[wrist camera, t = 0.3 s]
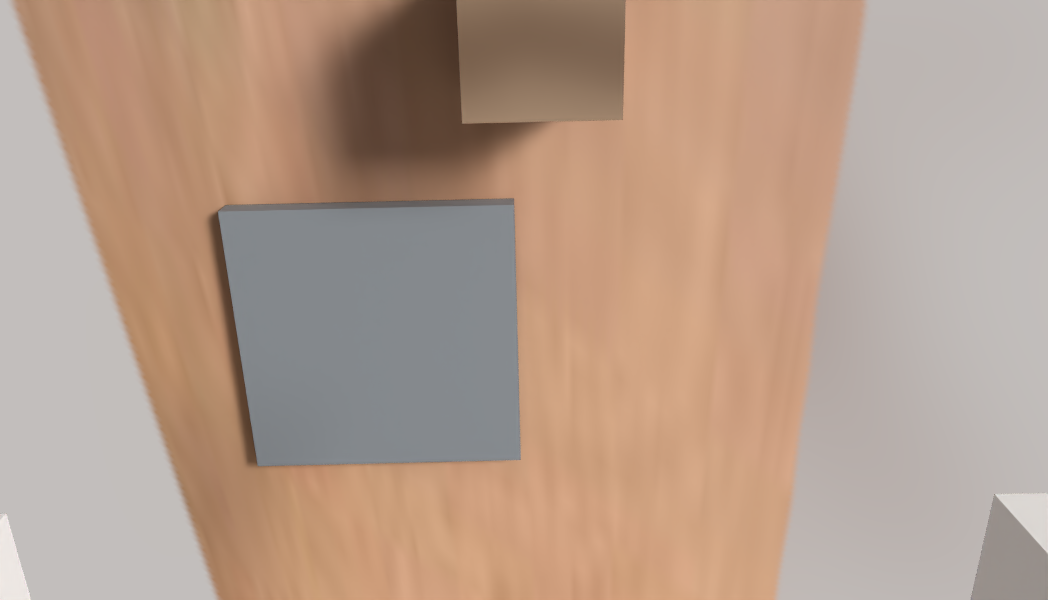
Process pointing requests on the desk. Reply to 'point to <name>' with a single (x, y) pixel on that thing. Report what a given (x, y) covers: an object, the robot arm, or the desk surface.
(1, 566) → the robot arm
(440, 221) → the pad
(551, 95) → the block
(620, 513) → the desk surface
